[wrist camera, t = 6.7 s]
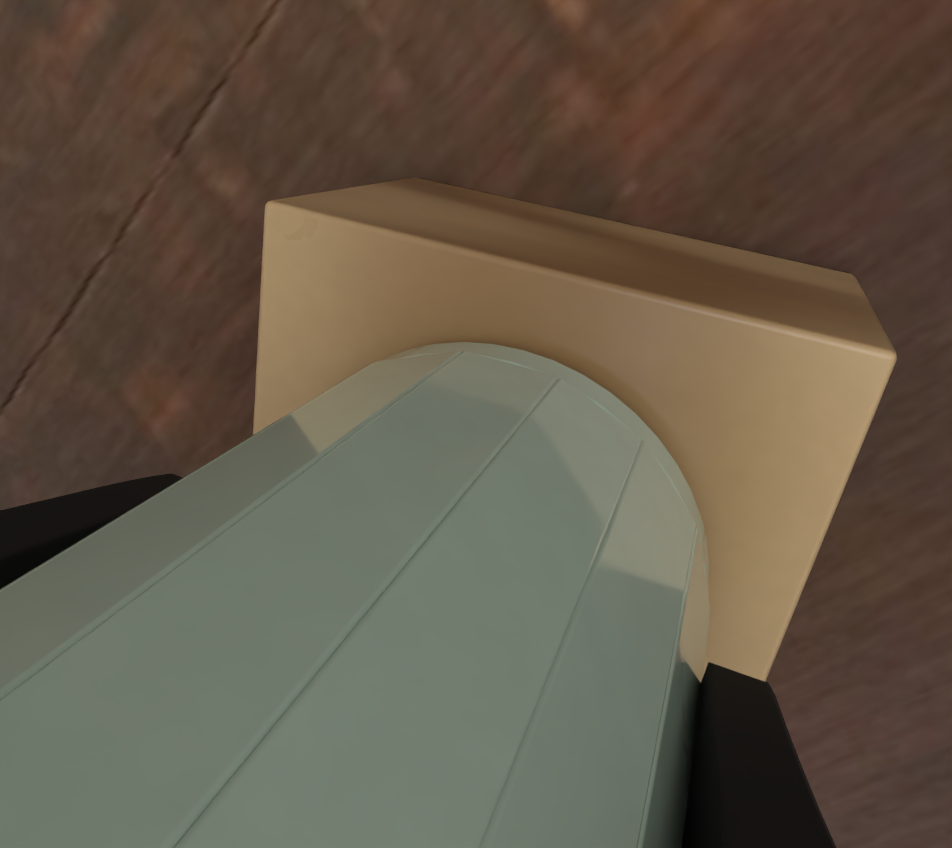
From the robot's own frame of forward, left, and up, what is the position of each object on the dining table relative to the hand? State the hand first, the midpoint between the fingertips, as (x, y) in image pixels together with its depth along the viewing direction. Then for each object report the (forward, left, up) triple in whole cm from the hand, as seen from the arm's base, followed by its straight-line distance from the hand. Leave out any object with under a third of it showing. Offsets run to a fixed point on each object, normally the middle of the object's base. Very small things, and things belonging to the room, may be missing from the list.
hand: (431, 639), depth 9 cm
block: (0, 0, -7) cm, 7 cm away
